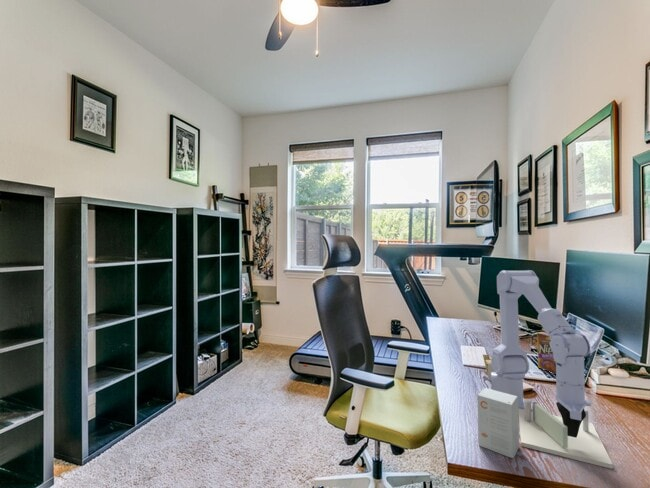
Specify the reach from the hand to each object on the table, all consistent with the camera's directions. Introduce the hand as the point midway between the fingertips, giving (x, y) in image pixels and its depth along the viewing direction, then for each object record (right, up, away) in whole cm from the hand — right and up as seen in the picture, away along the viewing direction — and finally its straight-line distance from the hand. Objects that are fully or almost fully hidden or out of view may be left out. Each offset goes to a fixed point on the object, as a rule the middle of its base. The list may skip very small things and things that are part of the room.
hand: (571, 435), depth 81 cm
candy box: (+31, -4, +51) cm, 60 cm away
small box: (-18, -4, +1) cm, 18 cm away
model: (+3, -5, +47) cm, 47 cm away
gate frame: (+1, -4, +6) cm, 7 cm away
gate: (-2, -2, +5) cm, 6 cm away
